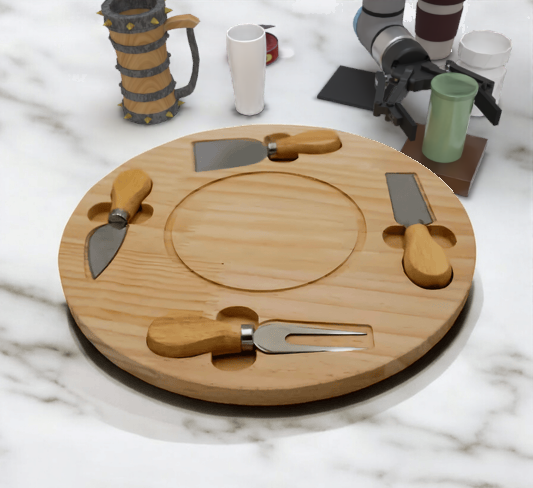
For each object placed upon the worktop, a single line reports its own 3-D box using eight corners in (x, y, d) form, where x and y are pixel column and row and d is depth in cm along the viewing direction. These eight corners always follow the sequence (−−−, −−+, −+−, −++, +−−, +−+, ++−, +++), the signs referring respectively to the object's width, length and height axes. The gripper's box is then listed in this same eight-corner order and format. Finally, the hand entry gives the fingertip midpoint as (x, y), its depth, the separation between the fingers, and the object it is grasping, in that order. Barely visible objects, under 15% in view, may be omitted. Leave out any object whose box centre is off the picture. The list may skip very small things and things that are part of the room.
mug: (122, 91, 126) (100, -12, 112) (211, 87, 125) (200, -15, 111) (111, 129, 116) (86, 23, 102) (207, 126, 116) (195, 19, 102)
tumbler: (468, 143, 105) (483, 77, 97) (457, 167, 101) (472, 100, 92) (426, 134, 107) (437, 68, 99) (415, 157, 103) (425, 91, 95)
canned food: (236, 84, 135) (209, 44, 129) (251, 56, 141) (227, 16, 135) (281, 69, 128) (255, 26, 123) (295, 40, 134) (271, -2, 128)
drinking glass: (244, 123, 116) (239, 45, 106) (224, 106, 121) (218, 30, 110) (275, 110, 119) (273, 34, 108) (255, 94, 123) (251, 19, 113)
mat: (398, 79, 125) (399, 77, 125) (378, 112, 118) (378, 109, 117) (340, 67, 129) (340, 65, 129) (317, 98, 122) (317, 95, 121)
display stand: (484, 153, 108) (488, 138, 106) (467, 197, 100) (470, 181, 98) (413, 137, 112) (415, 122, 110) (392, 177, 104) (394, 162, 102)
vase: (487, 121, 114) (502, 59, 106) (440, 107, 118) (451, 46, 110) (504, 98, 119) (520, 37, 111) (459, 85, 123) (471, 25, 115)
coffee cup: (447, 68, 128) (460, -7, 117) (399, 56, 131) (409, -17, 121) (464, 46, 133) (478, -27, 123) (418, 36, 137) (429, -36, 127)
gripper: (464, 66, 117) (525, 132, 102) (331, 88, 113) (375, 160, 98) (472, 27, 112) (538, 90, 97) (333, 48, 108) (380, 118, 93)
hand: (456, 125), depth 97 cm, fingers open, 13 cm apart
